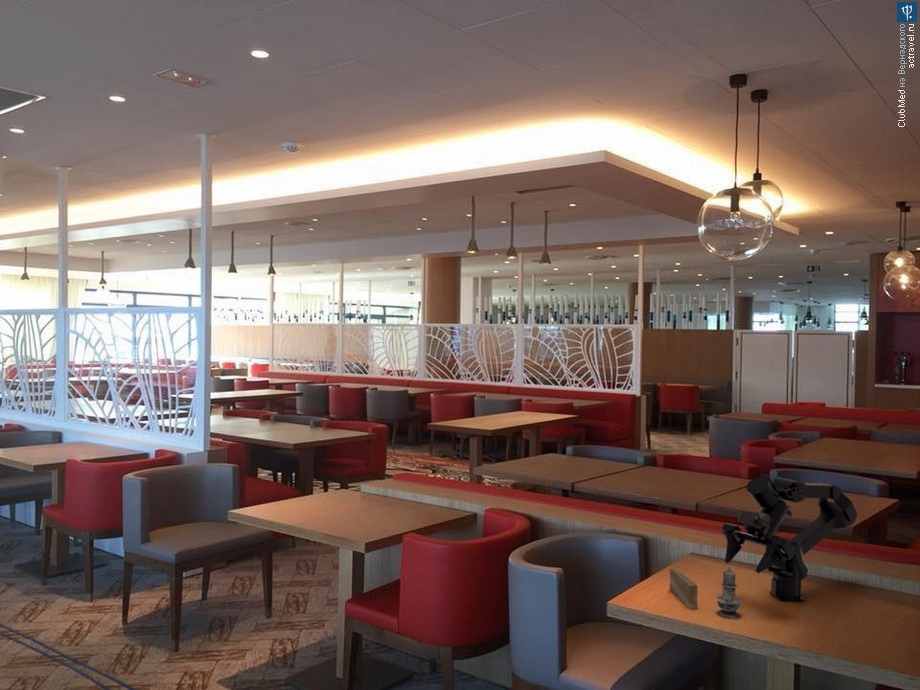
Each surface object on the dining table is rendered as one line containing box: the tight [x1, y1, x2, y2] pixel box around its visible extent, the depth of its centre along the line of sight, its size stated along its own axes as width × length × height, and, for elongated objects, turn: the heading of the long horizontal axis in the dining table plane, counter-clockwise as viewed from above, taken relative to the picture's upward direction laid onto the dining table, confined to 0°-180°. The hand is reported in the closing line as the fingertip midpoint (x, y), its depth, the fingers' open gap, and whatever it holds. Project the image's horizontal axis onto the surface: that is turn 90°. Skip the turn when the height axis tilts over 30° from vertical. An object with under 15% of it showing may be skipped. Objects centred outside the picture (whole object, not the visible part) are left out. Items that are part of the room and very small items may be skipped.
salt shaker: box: [716, 566, 742, 619], centre depth 195 cm, size 6×6×12 cm
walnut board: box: [669, 568, 698, 610], centre depth 205 cm, size 2×14×6 cm, turn 5°
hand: (741, 567), depth 197 cm, fingers open, 9 cm apart
